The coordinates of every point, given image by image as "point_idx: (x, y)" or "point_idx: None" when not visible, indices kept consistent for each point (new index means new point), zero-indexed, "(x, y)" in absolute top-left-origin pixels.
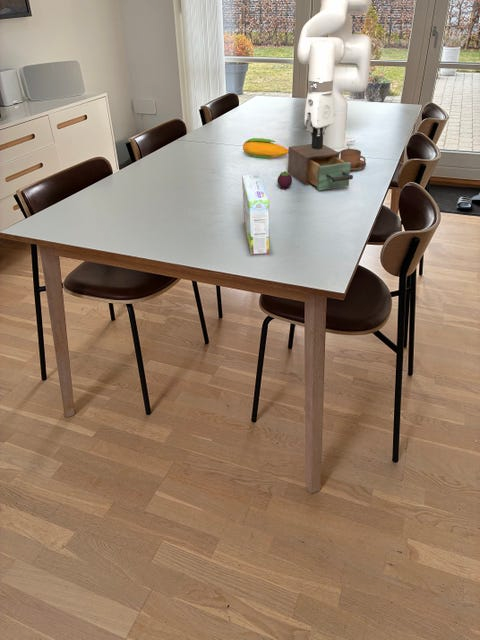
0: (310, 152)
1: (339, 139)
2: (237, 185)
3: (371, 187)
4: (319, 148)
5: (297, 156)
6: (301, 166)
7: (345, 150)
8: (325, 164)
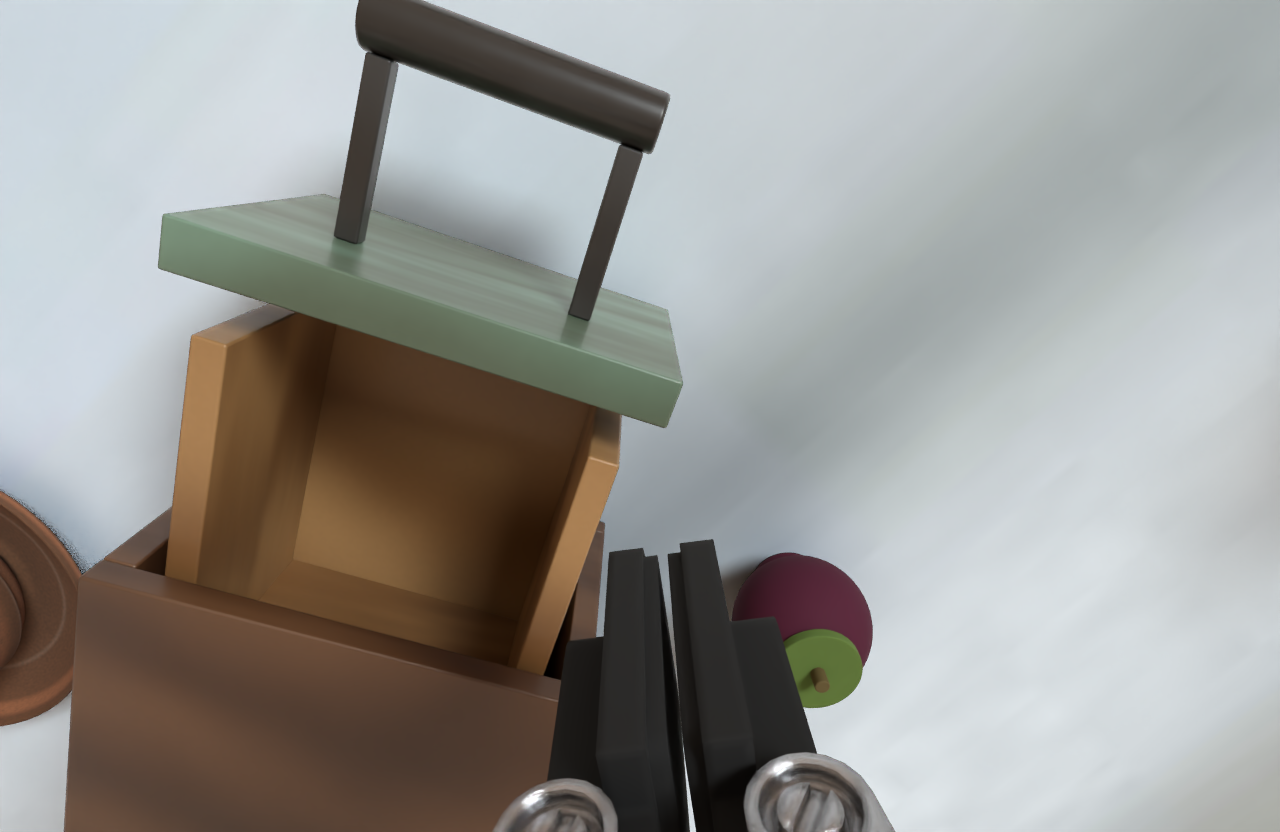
0: (401, 805)
1: None
2: (974, 820)
3: (96, 31)
4: (714, 548)
5: None
6: None
7: None
8: None
